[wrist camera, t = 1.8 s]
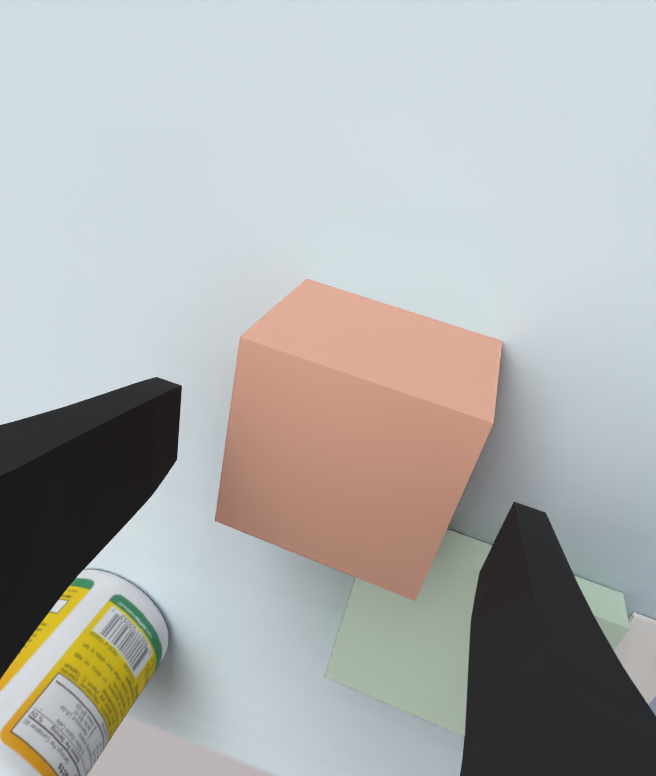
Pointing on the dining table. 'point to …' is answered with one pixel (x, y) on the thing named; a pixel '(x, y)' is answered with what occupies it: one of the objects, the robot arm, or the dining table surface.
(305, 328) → the terracotta brick
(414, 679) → the plate
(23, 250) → the dining table surface
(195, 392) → the dining table surface
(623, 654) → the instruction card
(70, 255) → the dining table surface
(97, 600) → the supplement bottle
